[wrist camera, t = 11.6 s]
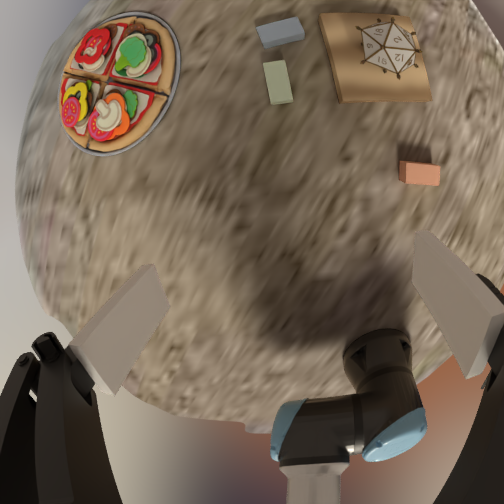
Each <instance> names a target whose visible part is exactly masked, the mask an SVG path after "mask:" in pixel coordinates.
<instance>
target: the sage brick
mask: <svg viewBox="0 0 504 504" xmlns="http://www.w3.org/2000/svg"><path fill="white" fill-rule="evenodd" d="M263 67H264V72H265V77H266V82H267V87H268V92H269V97H270V102H271V104H272V105H276V104H283V103H291V102H293V96H292V91H291V86H290V82H289V77H288V72H287V67H286V63H285V60H280V61H273V62H267V63H263Z"/></svg>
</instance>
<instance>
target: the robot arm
mask: <svg viewBox="0 0 504 504" xmlns="http://www.w3.org/2000/svg"><path fill="white" fill-rule="evenodd" d="M412 284H413V285H414V287H415V288H416V290H417V291H418V293H419V295H420V296H421V298H422V299H423V301H424V303H425V304H426V306H427V308H428V309H429V311H430V313H431V314H432V316H433V318H434V319H435V321H436V323H437V325H438V326H439V328H440V330H441V332H442V334H443V335H444V337H445V339H446V341H447V343H448V345H449V347H450V348H451V350H452V352H453V354H454V356H455V358H456V360H457V362H458V364H459V366H460V368H461V371H462V373H463V375H464V377H465V379H468V378H471V377H473V376H476V375H479V374H481V373H482V372H483V370H484V368H485V366H486V364H487V362H488V363H489V365H490V366H491V368H492V369H491V371H490V373H489V374H488V376H487V378H486V380H485V382H484V383H483V385H482V387H481V389H483V388H484V387H485V389H484V392H483V396H482V399H481V403H480V406H479V409H478V411H477V414H476V417H475V420H474V423H473V425H472V428H471V431H470V433H469V435H468V438H467V440H466V443H465V445H464V447H463V450H462V452H461V454H460V456H459V458H458V460H457V462H456V464H455V466H454V468H453V470H452V472H451V474H450V476H449V478H448V479H447V481H446V483H445V485H444V486H443V488H442V490H441V492H440V493H439V495H438V496H437V498H436V500H435V501H434V503H433V504H504V296H503V294H502V293H500V291H499V290H498V289H497V288H495V286H494V285H493V283H492V282H491V281H490V280H489V279H487V278H486V277H484V276H482V275H480V274H479V273H478V274H475V273H474V272H473V271H472V270H471V269H470V268H469V267H468V266H467V265H466V264H465V263H464V262H463V261H462V260H461V259H460V258H459V257H458V256H457V255H455V254H454V253H453V252H452V251H451V250H450V249H449V248H448V247H447V246H446V245H445V244H444V243H443V242H441V241H440V240H439V239H438V238H437V237H436V236H435V235H434V234H432V233H431V232H430V231H429V230H423V231H415V242H414V260H413V273H412ZM169 308H170V304H169V302H168V299H167V297H166V294H165V292H164V289H163V287H162V284H161V281H160V279H159V276H158V273H157V270H156V268H155V265H154V264H147V265H142V266H141V267H140V268H139V269H138V270H137V271H136V272H135V273H134V274H133V275H132V276H131V277H130V278H129V279H128V280H127V281H126V282H125V283H124V284H123V285H122V286H121V287H120V288H119V289H118V291H117V292H116V293H115V294H114V295H113V296H112V297H111V298H110V299H109V300H108V301H107V302H106V303H105V304H104V305H103V306H102V307H101V308H100V310H99V311H98V312H97V313H96V314H95V315H94V316H93V317H92V318H91V319H90V321H89V322H88V323H87V324H86V325H85V326H84V327H83V328H82V329H81V331H80V332H79V333H78V334H77V335H76V336H75V337H74V339H73V340H72V341H71V342H70V343H69V345H68V346H67V348H66V349H65V350H64V348H63V347H62V345H61V344H60V342H59V340H58V339H57V337H56V335H55V334H54V333H53V332H47V333H44V334H42V335H41V336H39V337H38V338H37V339H36V340H35V341H34V342H33V344H32V348H33V350H34V351H35V353H36V354H37V356H38V357H39V359H40V361H38V360H37V359H36V357H35V356H34V354H33V353H31V352H27V353H24V354H22V355H21V356H20V357H19V358H18V359H17V361H16V363H15V365H14V367H13V369H12V371H11V373H10V375H9V377H8V379H7V382H6V384H5V386H4V389H3V391H2V393H1V396H0V504H123V503H122V500H121V498H120V495H119V492H118V489H117V486H116V482H115V479H114V476H113V473H112V470H111V465H110V462H109V458H108V454H107V450H106V446H105V442H104V437H103V432H102V428H101V422H100V417H99V411H98V405H97V398H96V393H95V391H94V390H93V389H92V388H93V386H94V385H95V384H96V385H97V386H98V388H99V389H100V390H101V392H102V393H105V394H109V395H113V396H115V395H116V393H117V392H118V390H119V388H120V387H121V385H122V383H123V382H124V380H125V378H126V377H127V375H128V373H129V372H130V370H131V368H132V367H133V365H134V363H135V362H136V360H137V359H138V357H139V355H140V354H141V352H142V351H143V349H144V347H145V346H146V344H147V343H148V341H149V339H150V338H151V336H152V335H153V333H154V331H155V330H156V328H157V327H158V325H159V324H160V322H161V321H162V319H163V317H164V316H165V314H166V313H167V311H168V310H169ZM343 364H344V370H345V374H346V376H347V377H348V379H349V381H350V382H351V384H352V385H353V387H354V389H355V390H356V394H351V395H343V396H335V397H327V398H316V399H309V398H306V399H304V400H297V401H288V402H286V403H284V404H283V405H282V406H281V407H280V409H279V410H278V412H277V415H276V417H275V421H274V424H273V429H272V435H271V449H270V454H271V458H272V459H273V460H276V461H280V467H279V469H280V470H281V471H282V472H283V473H284V474H285V475H286V476H287V478H288V487H287V501H286V504H340V475H341V473H342V472H343V471H344V470H345V469H346V468H347V467H348V466H349V465H350V463H349V456H350V455H356V454H362V457H363V458H364V459H365V460H366V461H369V462H372V461H374V462H376V461H382V460H386V459H389V458H392V457H394V456H397V455H399V454H401V453H403V452H405V451H407V450H408V449H410V448H411V447H413V446H414V445H415V444H417V443H418V442H419V441H420V440H421V439H422V438H423V436H424V435H425V433H426V430H427V421H426V417H425V409H424V408H423V405H422V401H421V398H420V395H419V392H418V389H417V386H416V383H415V380H414V377H413V374H412V347H411V344H410V342H409V339H408V337H407V336H406V335H405V334H404V333H402V332H401V331H398V330H394V329H381V330H376V331H373V332H370V333H368V334H366V335H364V336H362V337H360V338H359V339H357V340H356V341H355V342H353V343H352V344H351V345H350V347H349V348H348V349H347V351H346V353H345V355H344V359H343ZM30 389H31V390H32V391H33V392H34V394H35V395H36V396H37V402H35V401H34V399H33V398H32V397H31V396H30V395H29V392H30Z"/></svg>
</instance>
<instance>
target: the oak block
mask: <svg viewBox="0 0 504 504" xmlns="http://www.w3.org/2000/svg"><path fill="white" fill-rule="evenodd" d="M392 17H394V19H395V21H394V23H395V24H397V25H399V26H400V27H402V28H403V29H405V30H406V31H408V32H409V33H411V32H415V31H414V29H413V26H412V23H411V20H410V18H409V17H406V16H398V15H388V14H375V13H320V14H319V19H318V22H319V26H320V29H321V32H322V35H323V39H324V42H325V46H326V49H327V53H328V57H329V61H330V65H331V69H332V73H333V77H334V81H335V86H336V90H337V95H338V100H339V104H341V103H355V102H383V101H404V102H427V101H432V96H431V91H430V86H429V82H428V77H427V73H426V69H425V65H424V61H423V57H422V54H421V53H417V52H416V58H415V64H417V65H418V67H419V68H416V67H414V65H412V66H411V67H409V68H407V69H406V70H404V71H403V72H401V73H399V75H400V77H401V78H400V80H399V79H398V78H397V74H395V73H393V72H390V71H388V70H387V73H385V74H384V72H383V68H381V67H378V66H376V65H373V64H371V63H368V62H365V63H364V64H360V62H361V61H362V60H365V59H364V51H363V46H362V45H361V42H362V36H361V31H360V30H358V29H356V27H355V26H359V27H360V28H361V29H363V28H365V27H368V26H370V25H373V24H376V23H379V22H377V19H378V18H379V19H381V22H391V18H392ZM412 37H413V40H414V43H415V47H416V49H420V47H419V44H418V41H417V37H416V35H412Z"/></svg>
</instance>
